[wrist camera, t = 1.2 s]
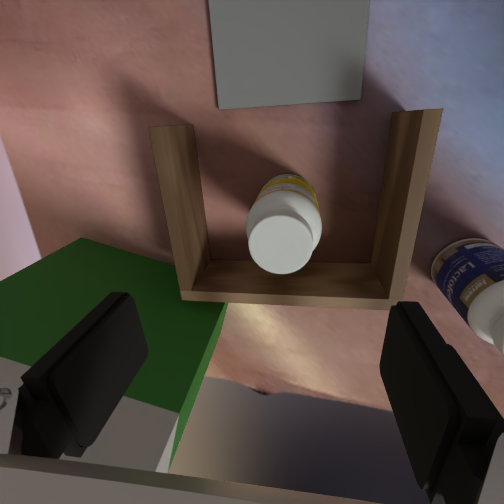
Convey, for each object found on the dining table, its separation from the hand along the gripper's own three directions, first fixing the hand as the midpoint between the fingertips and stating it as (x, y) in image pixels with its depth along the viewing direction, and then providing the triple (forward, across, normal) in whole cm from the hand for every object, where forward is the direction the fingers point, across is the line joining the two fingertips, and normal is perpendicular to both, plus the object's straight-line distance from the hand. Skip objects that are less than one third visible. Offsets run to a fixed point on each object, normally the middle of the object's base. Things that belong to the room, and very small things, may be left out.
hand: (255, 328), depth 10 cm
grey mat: (+17, -1, -13) cm, 21 cm away
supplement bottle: (+17, -1, 0) cm, 17 cm away
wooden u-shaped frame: (+17, -1, 0) cm, 17 cm away
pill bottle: (+17, -17, +6) cm, 25 cm away
